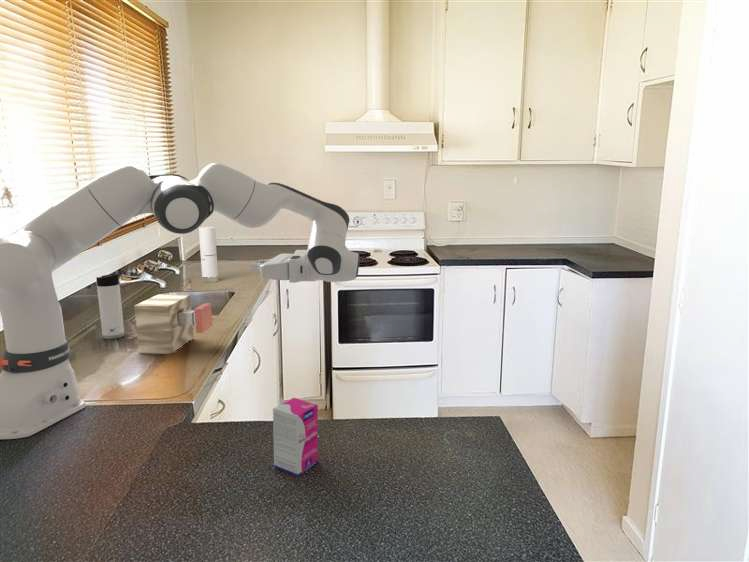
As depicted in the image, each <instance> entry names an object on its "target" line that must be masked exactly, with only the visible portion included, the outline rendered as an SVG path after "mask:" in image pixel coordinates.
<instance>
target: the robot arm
mask: <svg viewBox="0 0 749 562" xmlns="http://www.w3.org/2000/svg"><path fill="white" fill-rule="evenodd" d="M282 209H286V210H288V211H291V212H294V213H296V214H298V215H301V216H303V217H304V218H307V219H308V220H309V222H310V225H311V228H310V232H309V238H308V243H307V249H295V251H294V253H280V254H278V255H276V256H274V257H272V258H269V259H258V260H257V261H256V262H253V263H251V264H250V270H252V271H259V272H260V277H261V278H262V279H265V280H271V281H272V280H273V281H289V283H291V284H292V283H293V284H294V283H300V282H318V281H324V282H327V283H339V282H340V283H341V282H351V281H354V280H356V279H357V277H358V275H359V268H360V267H359V266H360V254H359V253H358V252H354V251H351V250H350V249H349V248H347V246H346V241H347V239H346V238H347V232H348V229H349V225H350V217H349V214H348V212H347V211H346V210H344V209H343V207H341V206H340V205H337V204H334V203H329V202H326V201H323V200H321V199H319V198H316V197H314V196H311V195H309V194H307V193H305V192H302V191H300V190H298V189H295V188H294V187H291V186H288V185H285V184H283V183H280V182H269V183H267V184H266V183H262V182H259V181H258V180H256V179H254V178H252V177H251V176H249V175H247V174H245V173H243V172H241V171H239V170H237V169H234V168H233V167H230V166H227V165H224V164H221V163H217V162H214V163H210V164H208V165H207V166H205V167H204V168H203V169H202V170H201V171H200V172H199V173H198V176H197V177H195V178H194V179H192V180H189V179H188V178H186V177H184V176H182V175H180V174H176V173H167V174H153V175H152V174H151V175H148V174H147V173H146V171H144V170H143V169H141V168H140V167H138V166H136V165H134V164H123V165H121V166H118V167H115V168H112V169H111V170H109V171H106V172H104V173H103V174H100V175H99V176H97V177H95V178H93V179H92V180H90V181H88V182H87V183H85V184H84V185H82V186H81V187H79V188H78V189H76V190H75V191H73V192H72V193H70V194H68V195H67V196H65V197H64V198H63V199H62V200H60V201H58V202H57V203H55V204H53V205H52V206H51V207H50V208H48V209H47V210H45V211H44V212H42V213H40V214H39V215H38V216H37V217H36V218H33V220H31V221H30V222H28V223H27V224H25V225H23V226H21V228H20V229H18V230H16V231H14V232H12V233H10V234H8V235H6V236H4V237H2V238H0V316H1V322H2V329H3V334H4V340H5V341H4V342H5V348H6V349H5V350H4V352H3V353H4V354H3V357H1V358H0V369H1V370H2V371H1V372H0V440H13V439H14V440H15V439H22V438H28V437H30V436H32V435H35V434H36V433H39V432H40V431H42V430H44V429H46V428H48V427H50V426H53V425H54V424H56V423H58V422H59V421H61V420H64V419H65V418H67V417H69V416H71V415H73V414H75V413H78V412H79V411H81V410H83V409H85V408H86V406H87V405H86V402H85V400H84V399H82V397H81V393H80V388H79V385H78V381H77V380H78V379H77V377H76V372H75V370H74V369H73V367H72V365H71V363H70V361H69V358H70V346H69V341H68V340H67V339H66V335H65V333H66V332H65V327H64V318H63V317H64V316H63V311H62V305H61V304H60V302H59V299H58V295H57V292H56V289H55V284H54V280H53V272H55V271H56V270H57V269H59V268H60V267H62V266H63V265H64V264H66V263H67V262H69V261H71V260H73V258H76V257H78V255H80V254H82V253H84V252H85V251H86V250H88V249H89V248H91V247H93V246H94V245H96V244H97V243H99V242H100V241H101V240H103V239H104V238H107V236H109V235H111V234H112V233H113V232H115V231H116V230H118V229H119V228H121V227H122V226H124V225H125V224H126V223H127V222H129V221H130V220H132V219H133V218H136V217H138V216H140V215H143V214H144V215H145V214H153V215H154V217H155V219H156V221H157V222H158V224H159V225H160V226H161V227H162V228H163V229H165V230H167V232H171V233H173V234H178V235H182V234H183V235H184V234H190V233H192V232H194V231H195V230H197V229H199V227H201V225H202V224H203V223H204V222H205V220H208V218H209V217H211V215H212V214H213V213H214V212H216V213H219V214H220V215H223V216H225V217H226V218H228V219H230V220H232V221H233V222H235V223H236V224H238V225H241V226H243V227H245V228H249V229H251V228H252V229H253V228H260V227H263V226H264V225H266V224H267V223H270V221H272V220H273V219H274V218H275V217H276V216H277V215H278V214H279V212H280V211H281V210H282Z"/></svg>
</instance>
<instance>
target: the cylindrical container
mask: <svg viewBox="0 0 749 562" xmlns="http://www.w3.org/2000/svg"><path fill="white" fill-rule="evenodd" d="M198 235H199V236H198V237H199V252H200V253H199V255H200V266H201V267H200V268H201V278H202V277H208V278H209V277H216V276H218V277H219V271H218V270H219V269H218V267H219V266H218V255H217V238H216V237H217V236H216V227H215V226H199V227H198Z"/></svg>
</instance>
